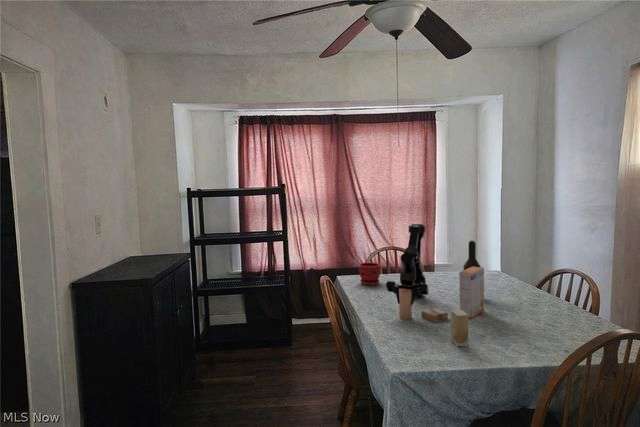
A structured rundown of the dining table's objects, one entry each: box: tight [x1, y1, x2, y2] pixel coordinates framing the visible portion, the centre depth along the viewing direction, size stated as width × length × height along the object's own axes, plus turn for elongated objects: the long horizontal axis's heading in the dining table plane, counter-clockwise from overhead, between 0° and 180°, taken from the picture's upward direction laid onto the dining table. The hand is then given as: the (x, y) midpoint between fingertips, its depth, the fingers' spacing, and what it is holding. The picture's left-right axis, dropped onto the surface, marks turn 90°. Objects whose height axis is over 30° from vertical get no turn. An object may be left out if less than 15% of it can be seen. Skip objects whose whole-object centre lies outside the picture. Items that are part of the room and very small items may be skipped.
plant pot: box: [358, 262, 382, 286], centre depth 233 cm, size 13×13×12 cm
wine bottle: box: [463, 240, 482, 270], centre depth 198 cm, size 8×8×30 cm
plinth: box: [421, 307, 449, 323], centre depth 171 cm, size 8×8×3 cm
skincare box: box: [450, 309, 470, 347], centre depth 143 cm, size 6×4×12 cm
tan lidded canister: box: [398, 288, 413, 321], centre depth 172 cm, size 6×6×13 cm
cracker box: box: [459, 267, 485, 320], centre depth 174 cm, size 14×6×21 cm, turn 134°
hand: (404, 304), depth 171 cm, fingers closed on tan lidded canister, 5 cm apart
